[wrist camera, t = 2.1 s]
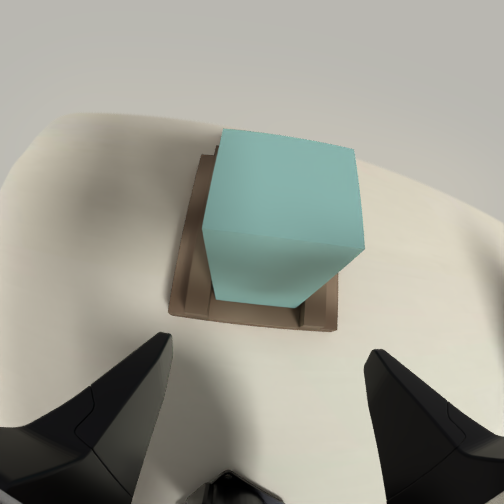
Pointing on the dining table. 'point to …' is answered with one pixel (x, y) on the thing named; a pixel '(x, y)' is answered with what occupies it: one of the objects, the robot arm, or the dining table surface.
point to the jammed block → (280, 217)
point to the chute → (208, 308)
